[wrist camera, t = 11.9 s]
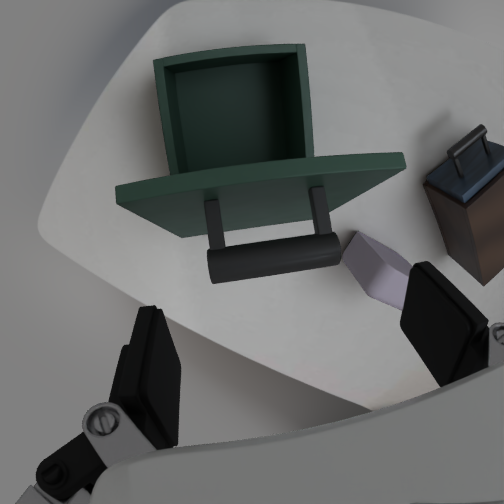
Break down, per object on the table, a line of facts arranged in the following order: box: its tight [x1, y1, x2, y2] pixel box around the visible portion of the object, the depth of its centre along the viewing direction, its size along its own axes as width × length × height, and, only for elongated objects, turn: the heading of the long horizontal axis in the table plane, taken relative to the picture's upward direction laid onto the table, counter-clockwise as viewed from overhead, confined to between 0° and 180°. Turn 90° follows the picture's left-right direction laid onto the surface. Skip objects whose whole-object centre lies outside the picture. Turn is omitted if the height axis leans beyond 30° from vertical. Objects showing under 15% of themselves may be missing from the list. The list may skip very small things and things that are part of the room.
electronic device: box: [342, 231, 413, 310], centre depth 39 cm, size 10×5×10 cm, turn 62°
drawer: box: [427, 124, 504, 203], centre depth 35 cm, size 18×11×8 cm, turn 37°
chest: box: [153, 44, 314, 175], centre depth 29 cm, size 16×13×9 cm
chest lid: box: [115, 152, 406, 284], centre depth 21 cm, size 16×13×5 cm
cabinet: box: [423, 170, 504, 287], centre depth 37 cm, size 15×13×10 cm
